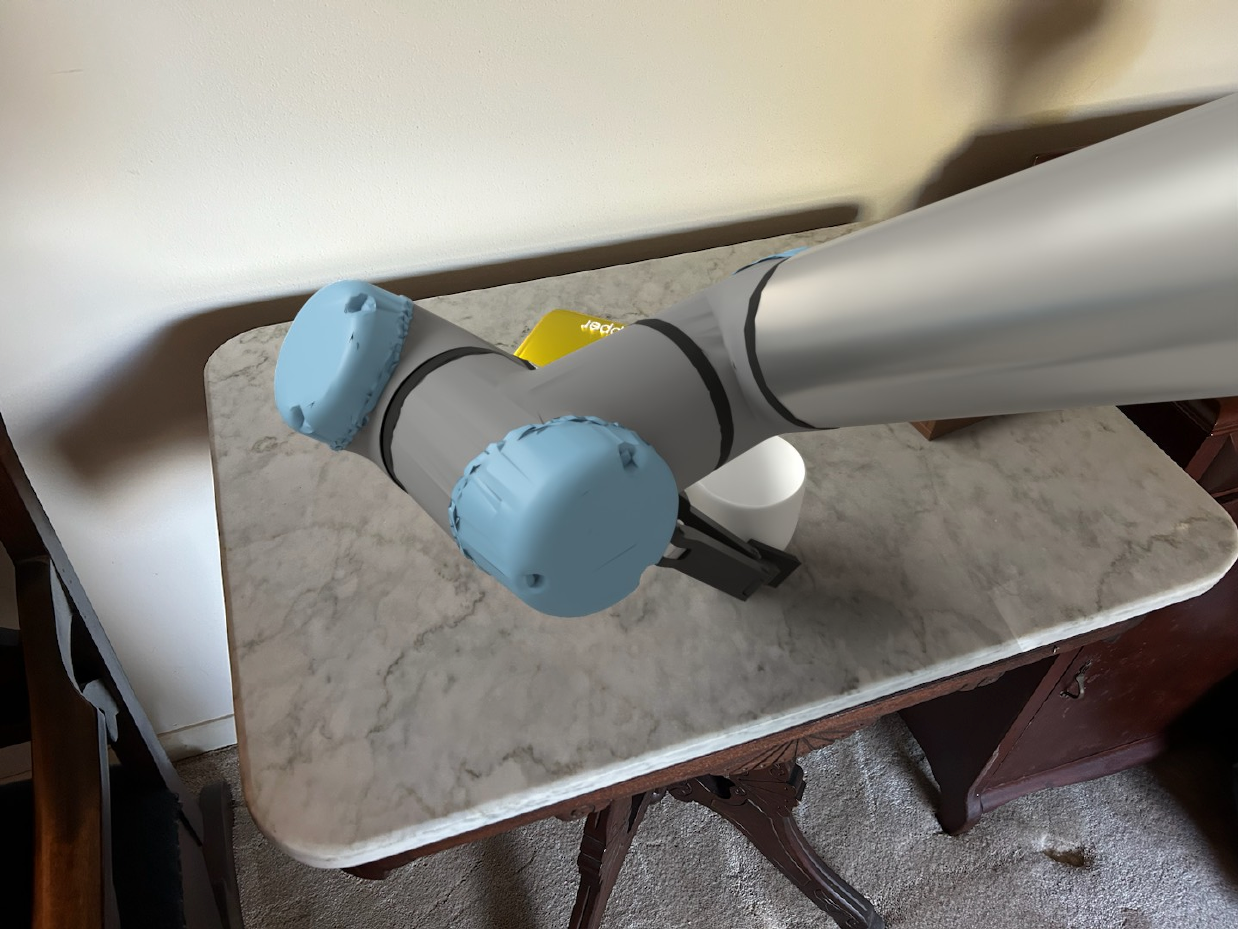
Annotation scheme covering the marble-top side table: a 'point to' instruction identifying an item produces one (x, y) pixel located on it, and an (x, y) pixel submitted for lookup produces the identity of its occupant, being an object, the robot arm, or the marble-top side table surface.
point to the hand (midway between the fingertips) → (752, 528)
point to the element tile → (563, 335)
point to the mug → (756, 493)
